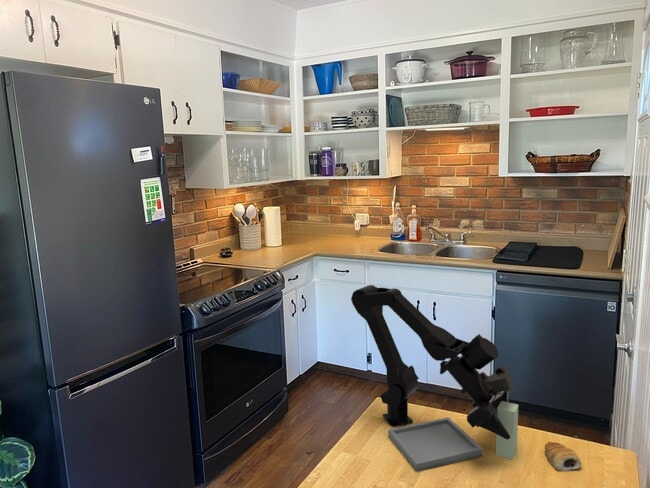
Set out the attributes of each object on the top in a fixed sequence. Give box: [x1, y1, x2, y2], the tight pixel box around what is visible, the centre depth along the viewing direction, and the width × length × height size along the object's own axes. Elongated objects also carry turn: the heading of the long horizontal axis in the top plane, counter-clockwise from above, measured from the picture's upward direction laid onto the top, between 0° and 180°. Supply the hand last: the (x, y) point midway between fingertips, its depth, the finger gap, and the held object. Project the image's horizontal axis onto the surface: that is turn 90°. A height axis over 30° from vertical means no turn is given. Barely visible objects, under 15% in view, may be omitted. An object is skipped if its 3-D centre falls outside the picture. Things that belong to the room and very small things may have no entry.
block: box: [495, 401, 519, 461], centre depth 122 cm, size 4×4×12 cm
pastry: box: [544, 441, 582, 472], centre depth 120 cm, size 9×7×4 cm
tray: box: [387, 416, 484, 473], centre depth 127 cm, size 16×18×2 cm
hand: (513, 430), depth 121 cm, fingers open, 8 cm apart
